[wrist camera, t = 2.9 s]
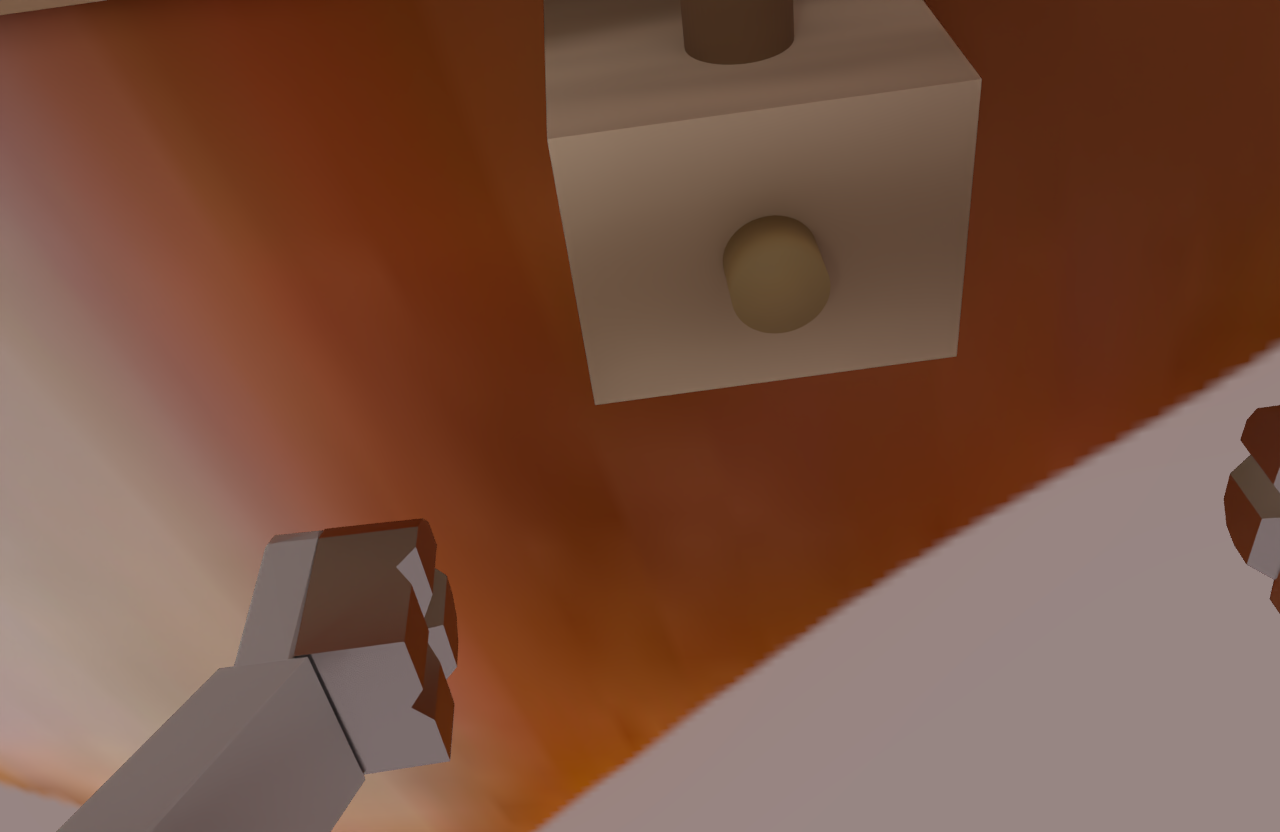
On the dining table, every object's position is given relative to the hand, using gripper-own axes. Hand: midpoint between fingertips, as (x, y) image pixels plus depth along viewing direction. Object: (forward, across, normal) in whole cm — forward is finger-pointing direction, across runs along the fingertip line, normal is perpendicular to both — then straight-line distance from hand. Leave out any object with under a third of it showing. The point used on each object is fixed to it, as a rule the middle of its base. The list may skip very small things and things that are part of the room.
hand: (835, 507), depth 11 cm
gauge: (+10, 0, -5) cm, 11 cm away
